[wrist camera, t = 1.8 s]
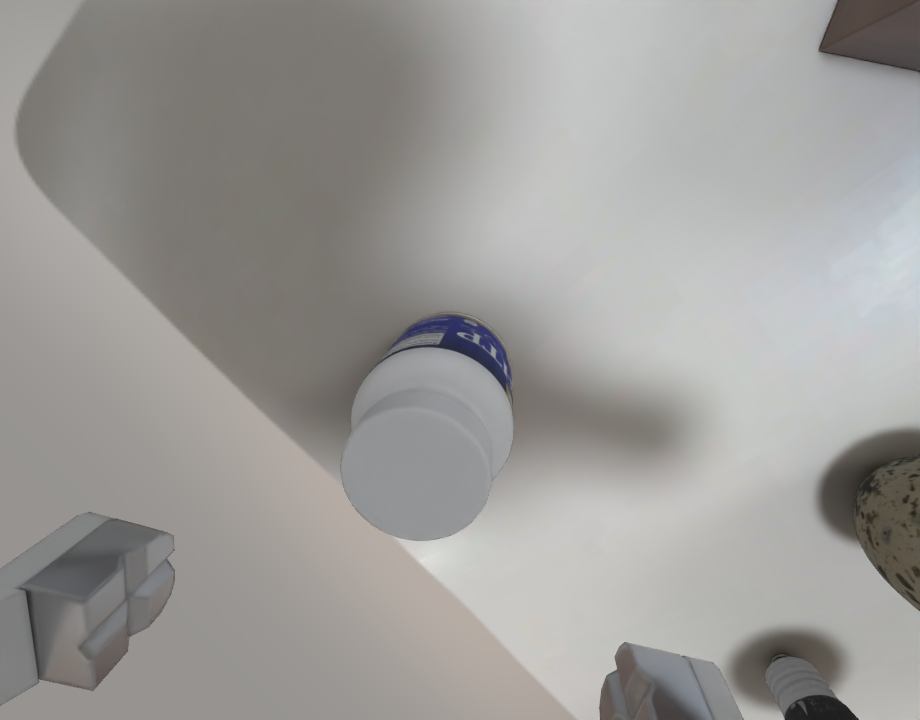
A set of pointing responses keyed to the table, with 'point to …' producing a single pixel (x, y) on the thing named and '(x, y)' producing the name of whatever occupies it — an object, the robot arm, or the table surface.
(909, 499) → the decorative egg
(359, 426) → the pill bottle
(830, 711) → the light bulb
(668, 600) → the table surface
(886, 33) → the shelf
